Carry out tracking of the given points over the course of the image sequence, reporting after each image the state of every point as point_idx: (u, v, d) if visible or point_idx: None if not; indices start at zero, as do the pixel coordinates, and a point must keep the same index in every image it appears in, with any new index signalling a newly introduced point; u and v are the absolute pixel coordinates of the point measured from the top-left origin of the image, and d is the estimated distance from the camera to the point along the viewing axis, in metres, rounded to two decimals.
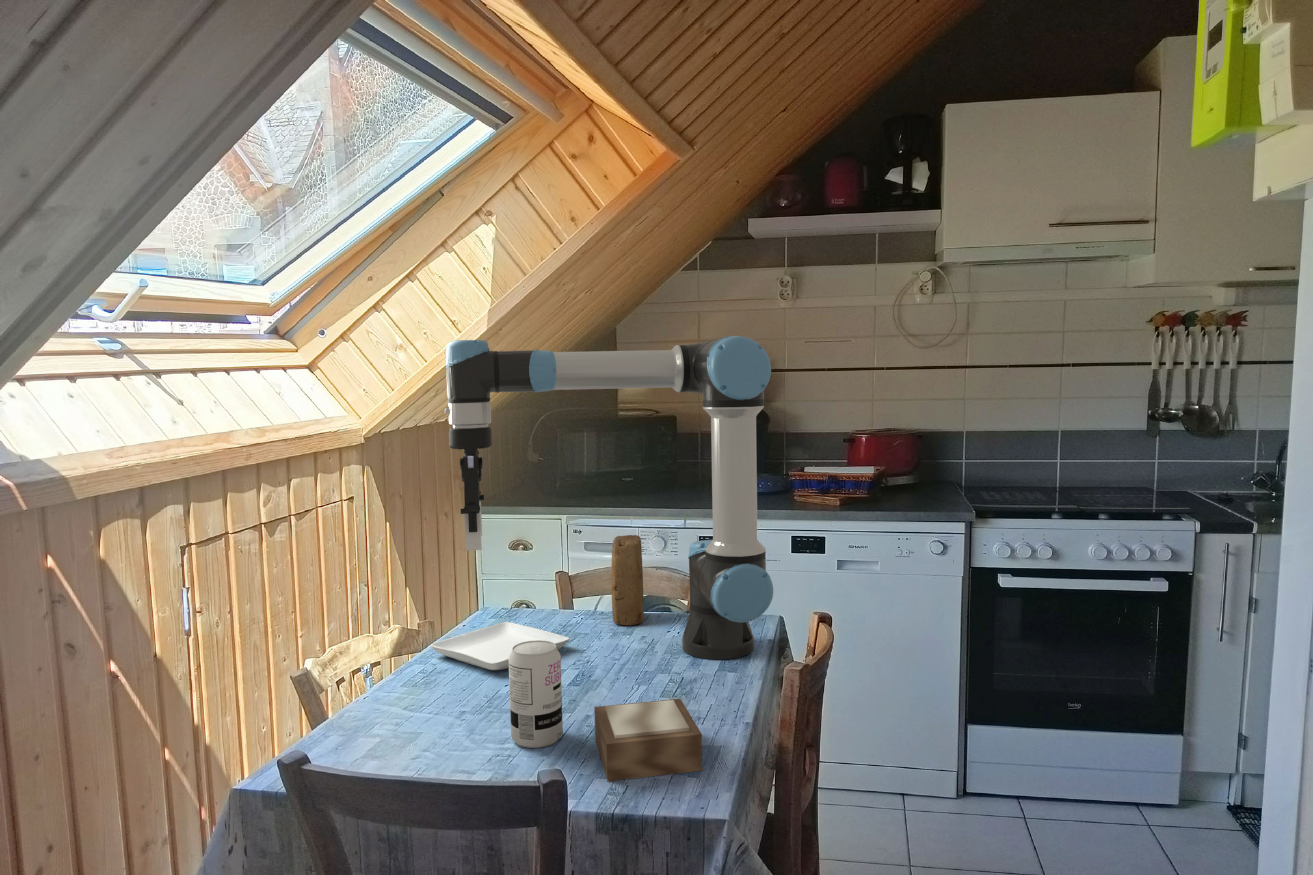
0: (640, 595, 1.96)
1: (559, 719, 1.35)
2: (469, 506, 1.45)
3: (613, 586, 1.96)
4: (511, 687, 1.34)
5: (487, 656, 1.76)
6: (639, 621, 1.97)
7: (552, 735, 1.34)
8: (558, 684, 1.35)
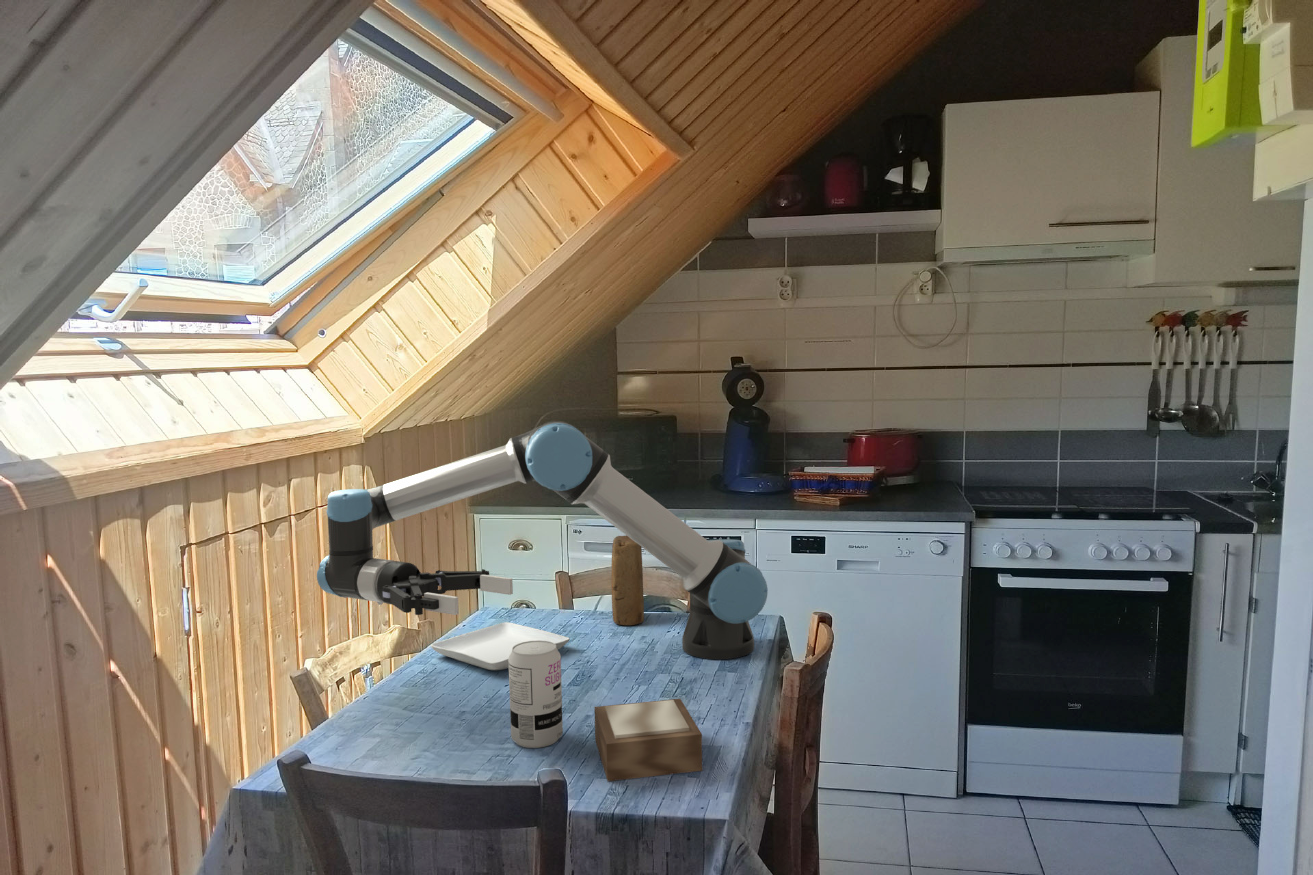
0: (640, 595, 1.96)
1: (559, 719, 1.35)
2: (403, 607, 1.35)
3: (613, 586, 1.96)
4: (511, 687, 1.34)
5: (487, 656, 1.76)
6: (639, 621, 1.97)
7: (552, 735, 1.34)
8: (558, 684, 1.35)
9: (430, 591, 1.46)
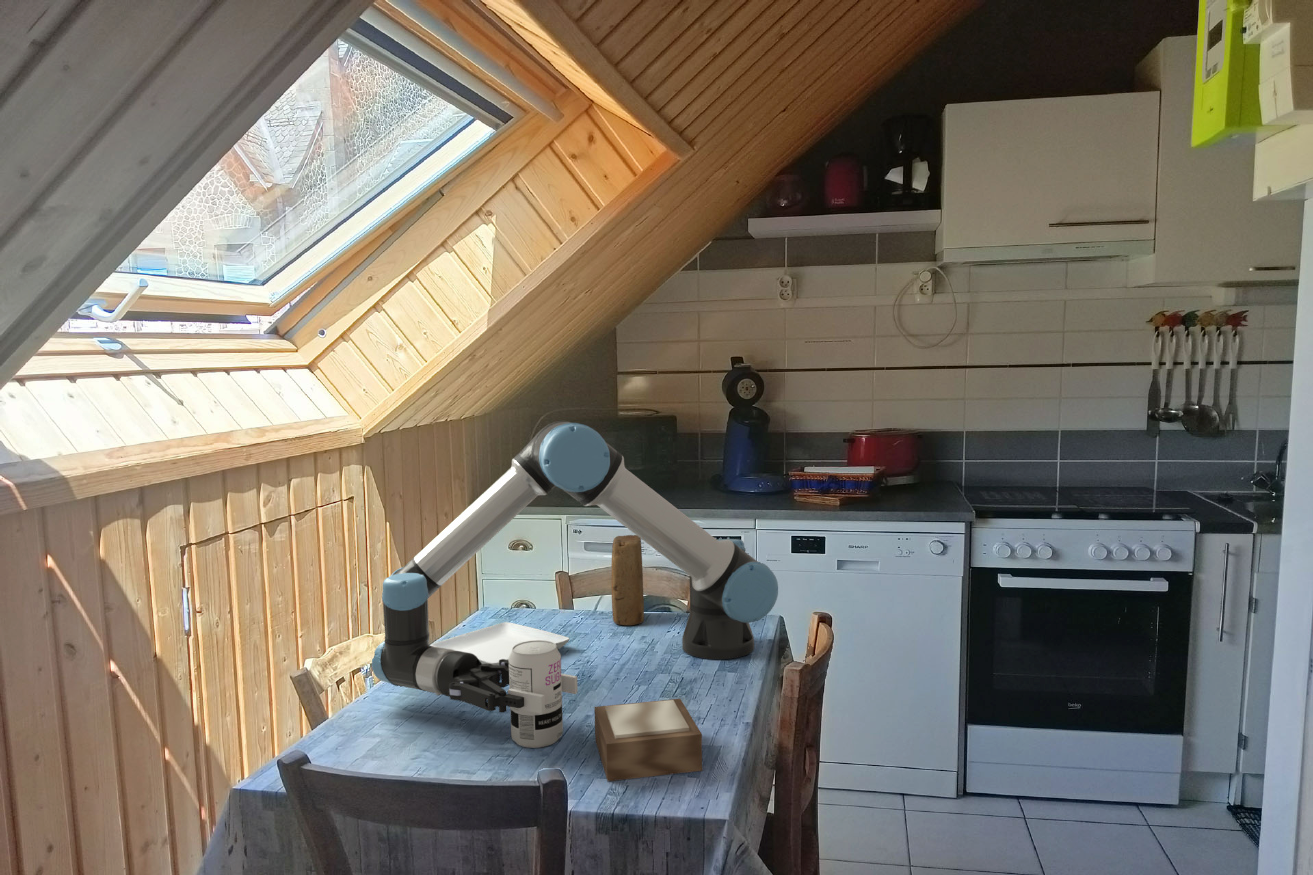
0: (640, 595, 1.96)
1: (559, 719, 1.35)
2: (488, 705, 1.31)
3: (613, 586, 1.96)
4: (511, 687, 1.34)
5: (487, 656, 1.76)
6: (639, 621, 1.97)
7: (553, 734, 1.34)
8: (558, 684, 1.35)
9: None
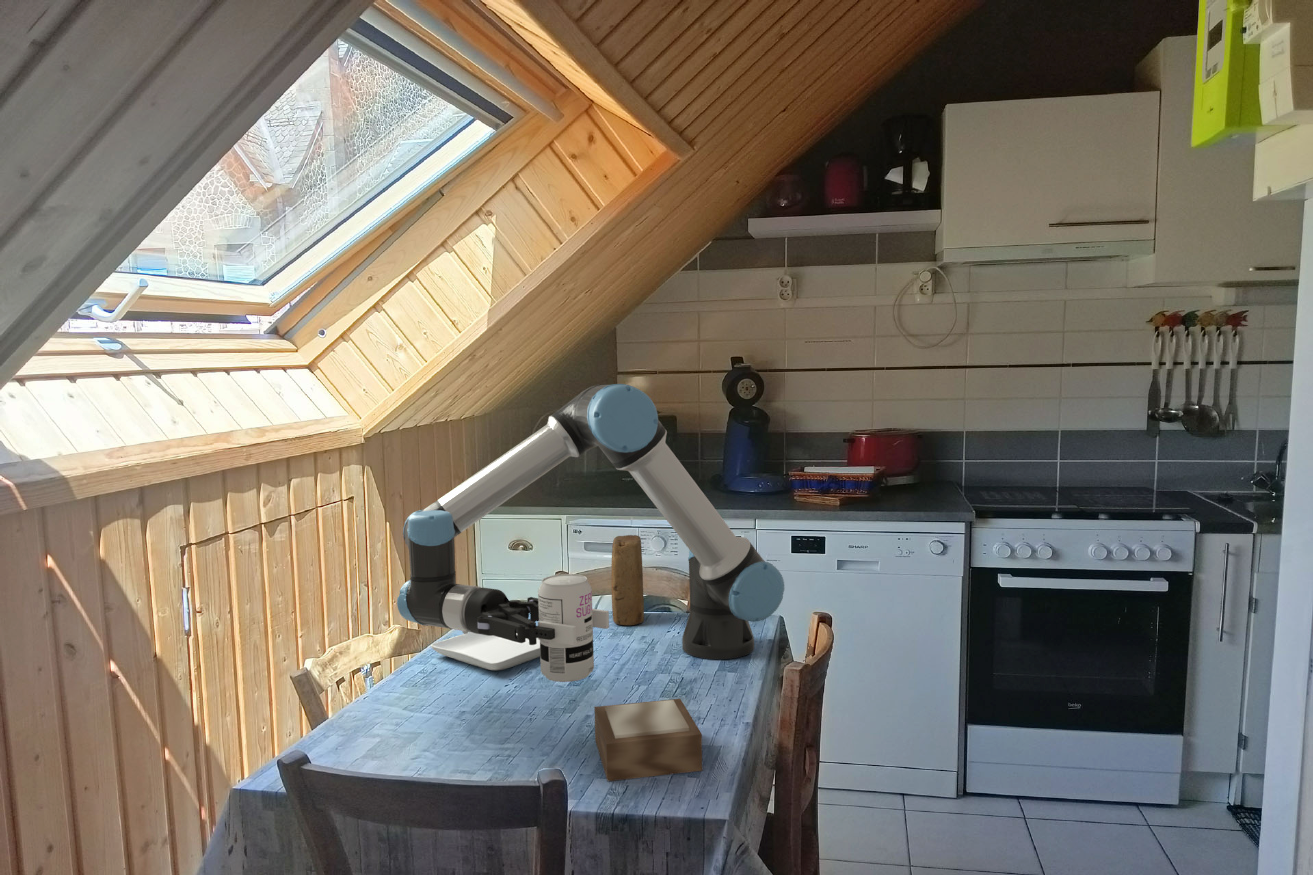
0: (640, 595, 1.96)
1: (590, 653, 1.31)
2: (517, 636, 1.27)
3: (613, 586, 1.96)
4: (541, 620, 1.30)
5: (487, 656, 1.76)
6: (639, 621, 1.97)
7: (584, 669, 1.30)
8: (589, 617, 1.31)
9: None
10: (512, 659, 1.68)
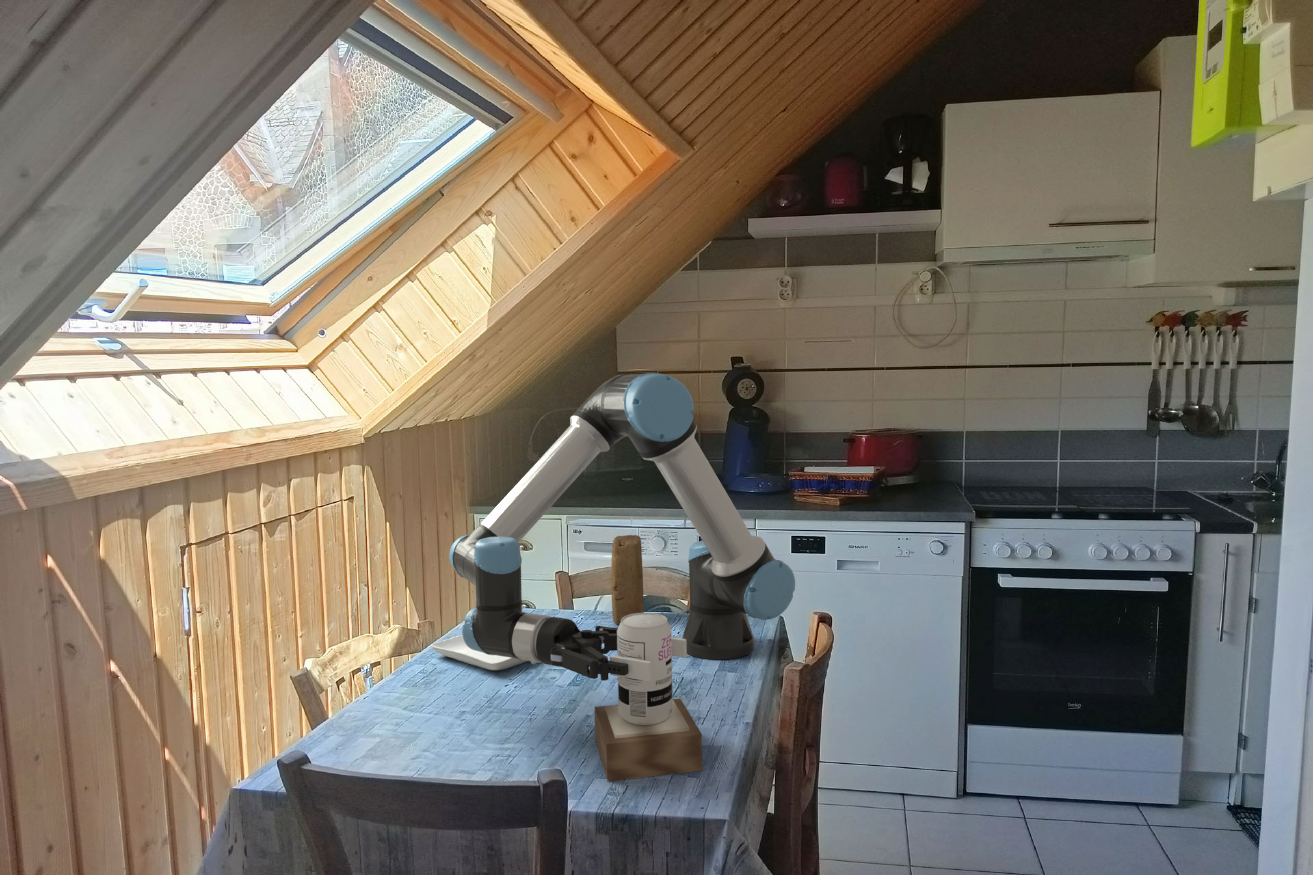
0: (640, 595, 1.96)
1: (670, 695, 1.28)
2: (590, 672, 1.23)
3: (613, 586, 1.96)
4: None
5: (487, 656, 1.76)
6: None
7: (664, 712, 1.27)
8: (670, 659, 1.27)
9: None
10: (512, 659, 1.68)
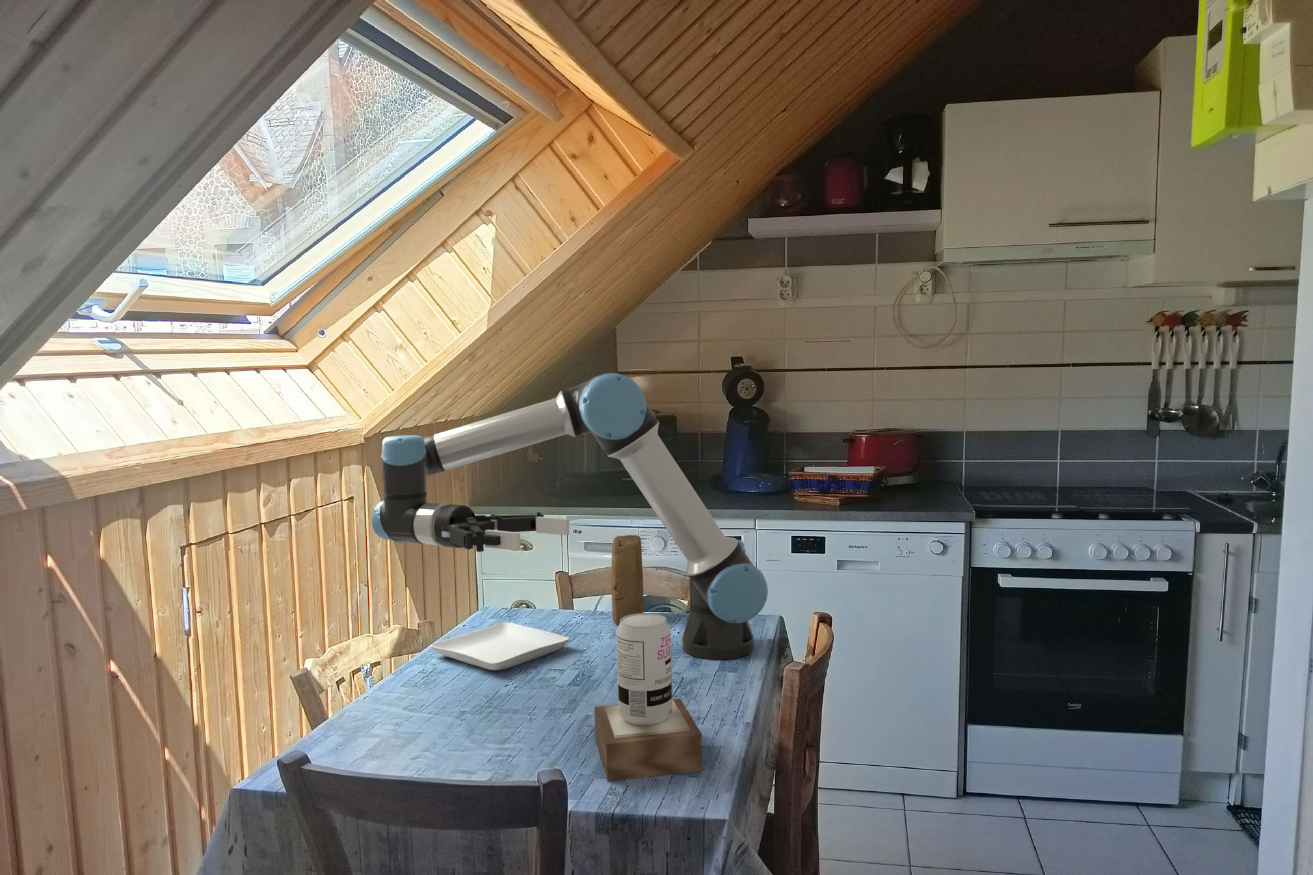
0: (640, 595, 1.96)
1: (670, 695, 1.28)
2: (465, 543, 1.36)
3: (613, 586, 1.96)
4: (620, 661, 1.27)
5: (487, 656, 1.76)
6: None
7: (664, 712, 1.27)
8: (669, 658, 1.28)
9: None
10: (512, 659, 1.68)
